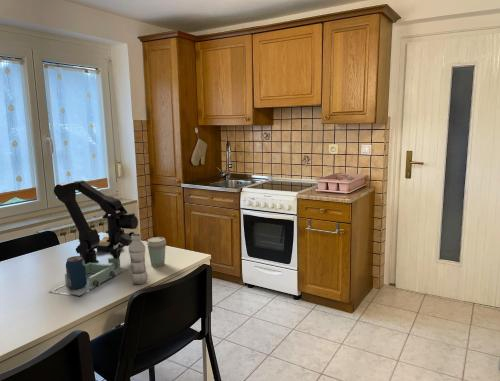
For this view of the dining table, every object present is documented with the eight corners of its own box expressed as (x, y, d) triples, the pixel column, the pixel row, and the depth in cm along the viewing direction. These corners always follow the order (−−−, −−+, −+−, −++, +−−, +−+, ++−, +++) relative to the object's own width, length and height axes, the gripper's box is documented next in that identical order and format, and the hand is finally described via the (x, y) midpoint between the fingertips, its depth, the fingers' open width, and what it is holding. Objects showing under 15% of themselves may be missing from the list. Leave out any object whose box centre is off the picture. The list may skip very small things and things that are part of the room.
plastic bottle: (139, 287, 154) (135, 238, 151) (127, 284, 158) (123, 236, 154) (151, 281, 159) (148, 234, 156) (139, 278, 163) (136, 232, 159)
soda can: (90, 284, 158) (87, 255, 156) (81, 291, 151) (78, 261, 149) (74, 283, 159) (71, 255, 157) (64, 290, 152) (61, 261, 150)
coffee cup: (162, 268, 173) (161, 242, 171) (144, 267, 175) (143, 241, 173) (170, 262, 182) (169, 237, 180) (153, 261, 183) (151, 236, 181)
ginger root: (112, 253, 191) (108, 237, 190) (88, 257, 197) (84, 242, 196) (133, 245, 205) (129, 230, 205) (109, 249, 211) (106, 234, 211)
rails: (48, 292, 151) (48, 291, 151) (100, 265, 178) (100, 265, 178) (79, 297, 146) (79, 296, 146) (127, 269, 173) (127, 269, 173)
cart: (63, 283, 158) (62, 274, 157) (102, 264, 179) (101, 255, 178) (93, 288, 153) (92, 278, 152) (129, 267, 174) (128, 258, 174)
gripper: (116, 235, 164) (119, 270, 166) (142, 223, 181) (144, 256, 184) (94, 233, 167) (97, 267, 170) (121, 222, 184) (124, 253, 187)
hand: (117, 261), depth 178 cm, fingers closed
